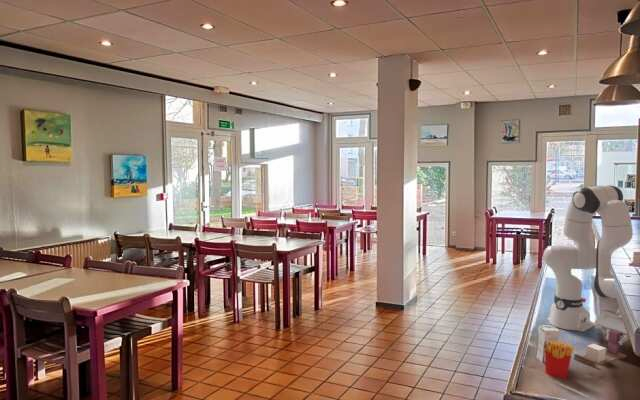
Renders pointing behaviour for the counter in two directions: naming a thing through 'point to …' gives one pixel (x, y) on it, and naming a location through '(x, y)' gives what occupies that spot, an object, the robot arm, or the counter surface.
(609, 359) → the l-shaped block
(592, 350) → the cream cube
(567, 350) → the french fries
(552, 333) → the syrup box
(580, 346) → the counter surface
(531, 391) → the counter surface
